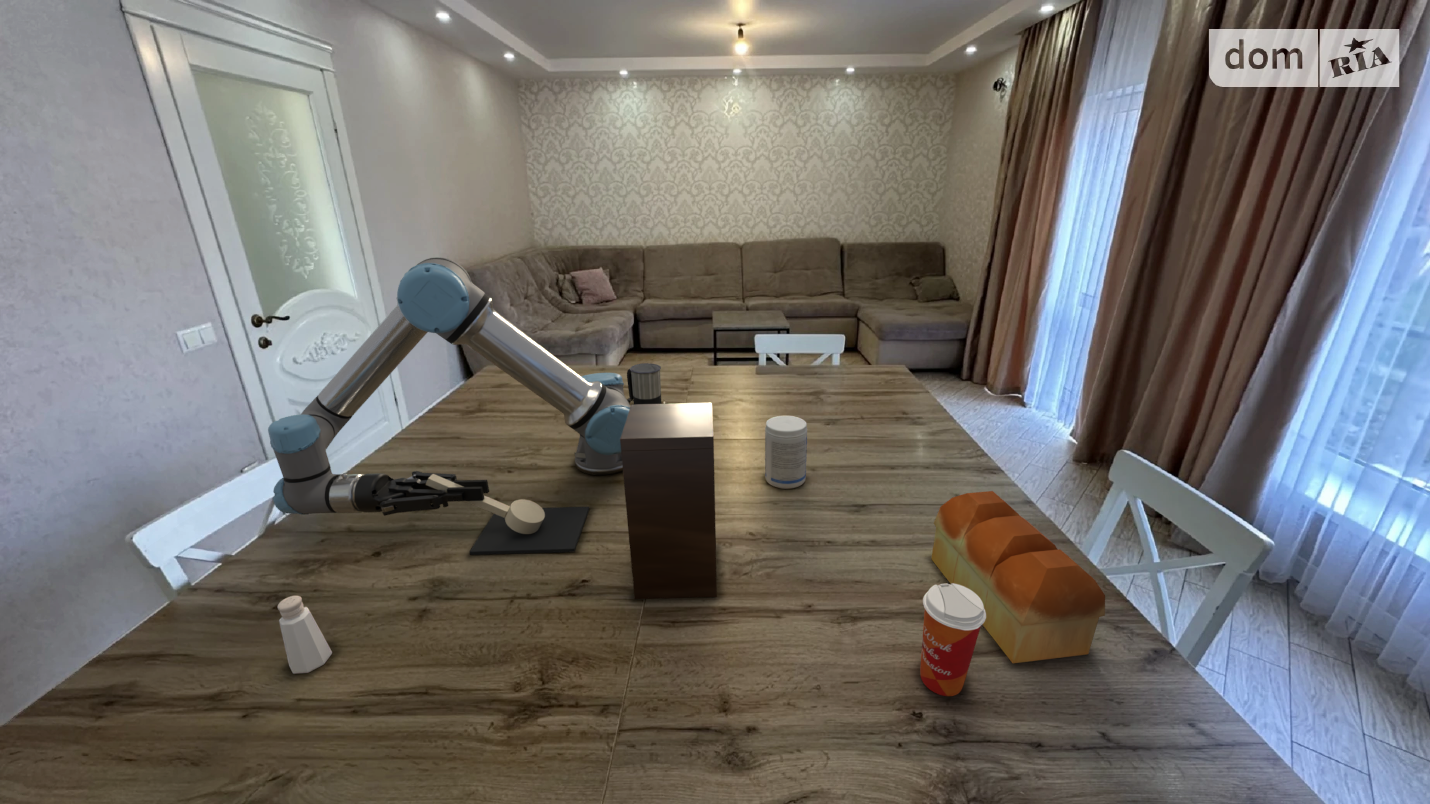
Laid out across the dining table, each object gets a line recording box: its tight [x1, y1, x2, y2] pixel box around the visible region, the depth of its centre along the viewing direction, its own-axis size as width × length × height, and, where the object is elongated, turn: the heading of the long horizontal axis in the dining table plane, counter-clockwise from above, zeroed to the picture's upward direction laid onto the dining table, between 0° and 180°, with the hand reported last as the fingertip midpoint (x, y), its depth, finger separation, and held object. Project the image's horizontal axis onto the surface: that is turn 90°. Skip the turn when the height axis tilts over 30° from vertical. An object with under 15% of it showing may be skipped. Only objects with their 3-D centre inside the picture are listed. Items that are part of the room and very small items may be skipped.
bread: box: [930, 490, 1106, 664], centre depth 88 cm, size 25×12×15 cm, turn 7°
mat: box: [469, 506, 590, 556], centre depth 112 cm, size 15×20×1 cm
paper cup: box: [919, 583, 986, 697], centre depth 74 cm, size 8×8×14 cm
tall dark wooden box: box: [620, 402, 718, 600], centre depth 94 cm, size 14×14×30 cm
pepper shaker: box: [277, 595, 333, 675], centre depth 80 cm, size 5×5×11 cm
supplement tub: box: [764, 415, 808, 490], centre depth 127 cm, size 10×10×15 cm
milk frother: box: [626, 362, 663, 404], centre depth 166 cm, size 14×16×15 cm
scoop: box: [426, 474, 545, 534], centre depth 109 cm, size 7×23×3 cm, turn 91°
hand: (484, 490), depth 108 cm, fingers closed on scoop, 2 cm apart
